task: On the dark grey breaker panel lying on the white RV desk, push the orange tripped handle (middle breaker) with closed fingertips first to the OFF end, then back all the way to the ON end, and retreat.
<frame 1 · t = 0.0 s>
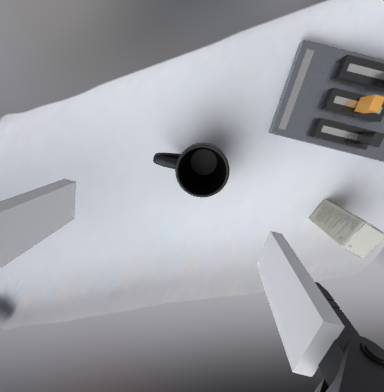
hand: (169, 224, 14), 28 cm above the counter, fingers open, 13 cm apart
breaker handle: (369, 104, 31), point 5 cm above the counter, slide at 0.5 cm
mug: (194, 159, 40), on the counter
box: (324, 212, 42), on the counter
panel: (345, 106, 35), on the counter
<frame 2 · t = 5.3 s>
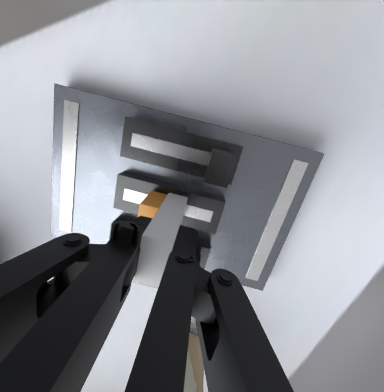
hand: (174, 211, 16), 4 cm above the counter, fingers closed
breaker handle: (153, 211, 15), point 5 cm above the counter, slide at -0.7 cm, touching gripper
box: (180, 341, 26), on the counter
panel: (173, 194, 20), on the counter
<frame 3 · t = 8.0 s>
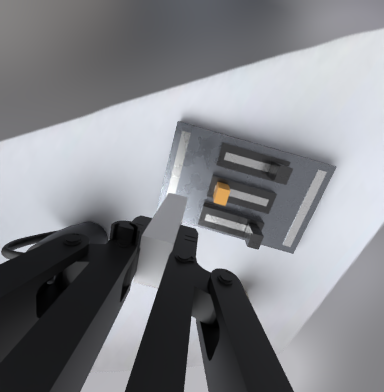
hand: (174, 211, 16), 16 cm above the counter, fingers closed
breaker handle: (221, 193, 26), point 5 cm above the counter, slide at -2.9 cm
mug: (82, 232, 36), on the counter
panel: (238, 189, 31), on the counter
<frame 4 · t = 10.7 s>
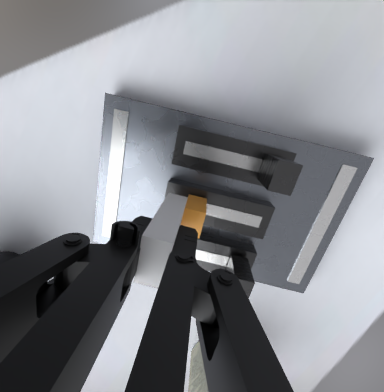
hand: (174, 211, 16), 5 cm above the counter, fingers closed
breaker handle: (193, 214, 16), point 5 cm above the counter, slide at -1.8 cm, touching gripper
box: (214, 343, 26), on the counter
panel: (215, 199, 20), on the counter
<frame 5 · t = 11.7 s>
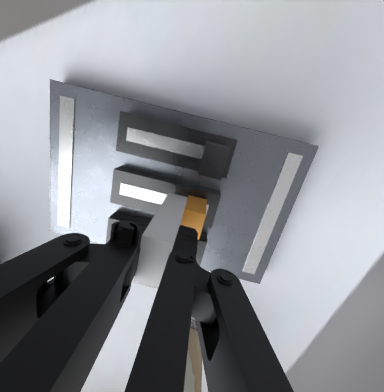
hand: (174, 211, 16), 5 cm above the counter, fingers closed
breaker handle: (193, 215, 16), point 5 cm above the counter, slide at 2.7 cm, touching gripper
box: (179, 335, 26), on the counter
panel: (170, 189, 20), on the counter
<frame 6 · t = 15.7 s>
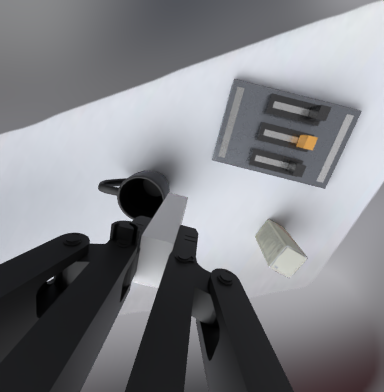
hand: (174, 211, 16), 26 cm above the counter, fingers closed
breaker handle: (306, 142, 34), point 5 cm above the counter, slide at 2.9 cm
mug: (146, 182, 43), on the counter
box: (269, 231, 45), on the counter
panel: (279, 136, 38), on the counter
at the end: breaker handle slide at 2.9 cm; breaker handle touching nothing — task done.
